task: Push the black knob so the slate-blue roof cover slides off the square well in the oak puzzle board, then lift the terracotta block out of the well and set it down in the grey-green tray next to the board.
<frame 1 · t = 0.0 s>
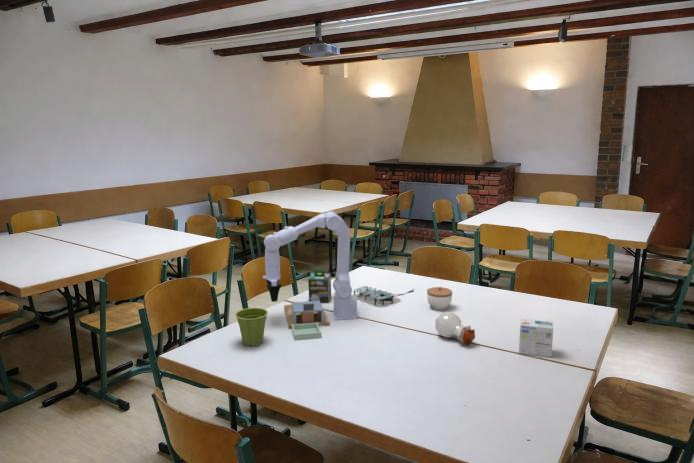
hand: (273, 298, 199), 10 cm above the table, tool pointing down, fingers open, 7 cm apart
potion bottle: (454, 339, 184), on the table
tray: (306, 334, 189), on the table
block: (307, 315, 200), in the board
plant pot: (253, 342, 182), on the table
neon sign: (385, 296, 233), on the table
cover: (307, 309, 200), point 5 cm above the table, slide at 0.0 cm
lidded jar: (439, 308, 216), on the table
board: (307, 321, 201), on the table
light bulb box: (534, 352, 173), on the table
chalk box: (320, 300, 227), on the table
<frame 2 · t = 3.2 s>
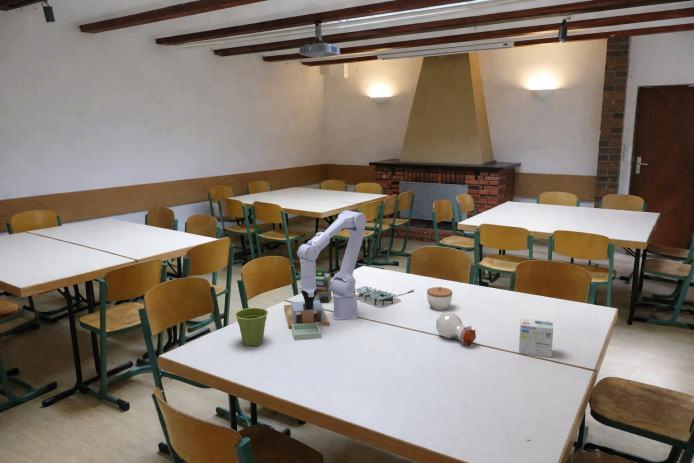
hand: (309, 308, 194), 8 cm above the table, tool pointing down, fingers closed
cover: (307, 308, 200), point 5 cm above the table, slide at 0.5 cm, touching gripper
everything else where it was.
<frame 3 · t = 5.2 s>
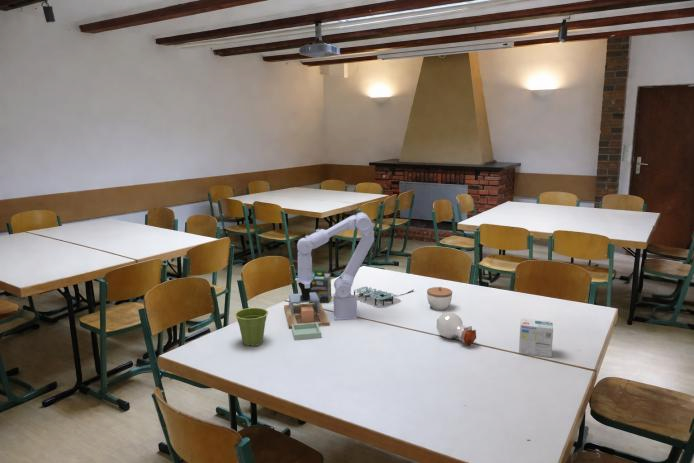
hand: (305, 299, 204), 8 cm above the table, tool pointing down, fingers closed
cover: (303, 300, 210), point 5 cm above the table, slide at 11.0 cm, touching gripper
everything else where it was.
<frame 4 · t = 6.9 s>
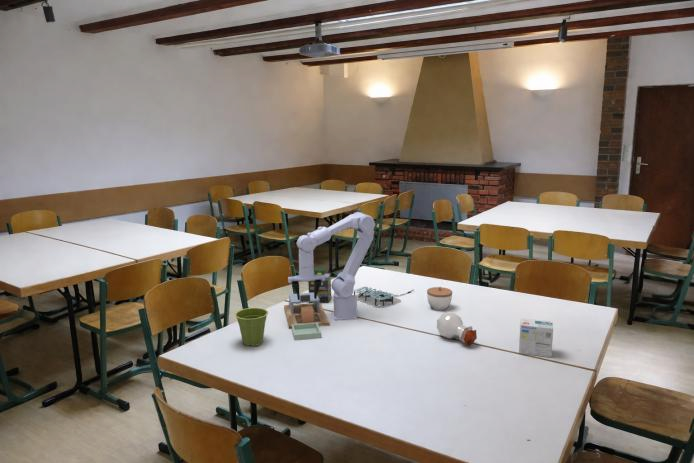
hand: (307, 298, 199), 10 cm above the table, tool pointing down, fingers open, 6 cm apart
cover: (303, 300, 210), point 5 cm above the table, slide at 11.0 cm
everything else where it was.
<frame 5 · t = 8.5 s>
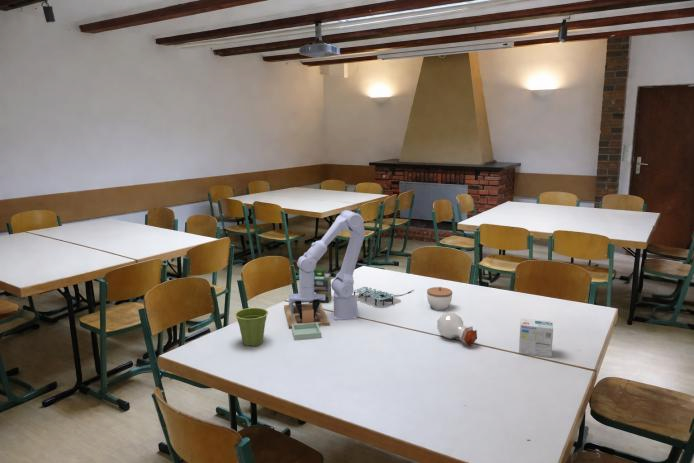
hand: (307, 318, 201), 2 cm above the table, tool pointing down, fingers closed on block, 4 cm apart
block: (307, 315, 200), in the board, touching gripper
everything else where it was.
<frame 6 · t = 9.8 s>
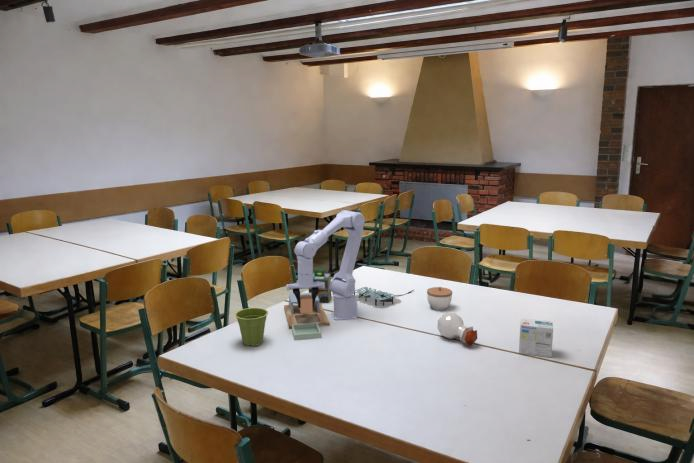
hand: (306, 306, 193), 9 cm above the table, tool pointing down, fingers closed on block, 4 cm apart
block: (305, 304, 193), point 10 cm above the table, touching gripper
when the fingers open (3 cm above the table, at t = 11.6 s): block stays where it is, resting on tray.
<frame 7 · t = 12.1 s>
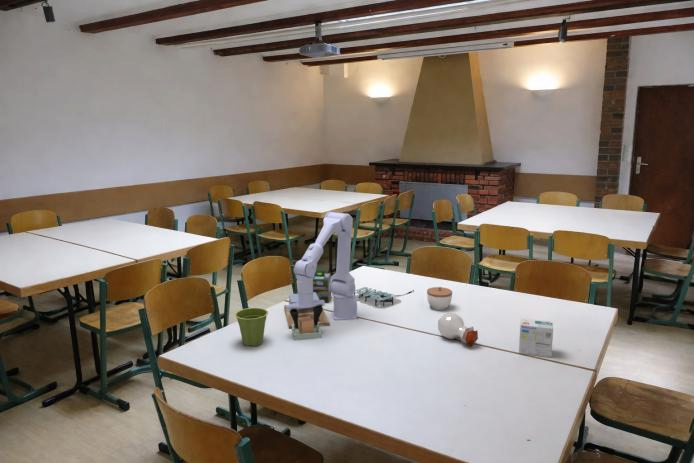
hand: (306, 326, 188), 3 cm above the table, tool pointing down, fingers open, 7 cm apart
block: (305, 326, 189), in the tray
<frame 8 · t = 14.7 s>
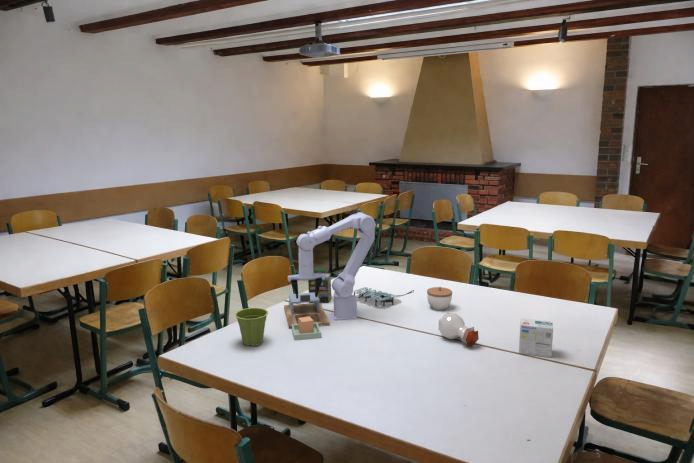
hand: (306, 297, 200), 10 cm above the table, tool pointing down, fingers open, 7 cm apart
at the end: cover slide at 11.0 cm; block inside the target area on the tray (0.3 cm from its centre), point 3.1 cm above the tray's base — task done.
